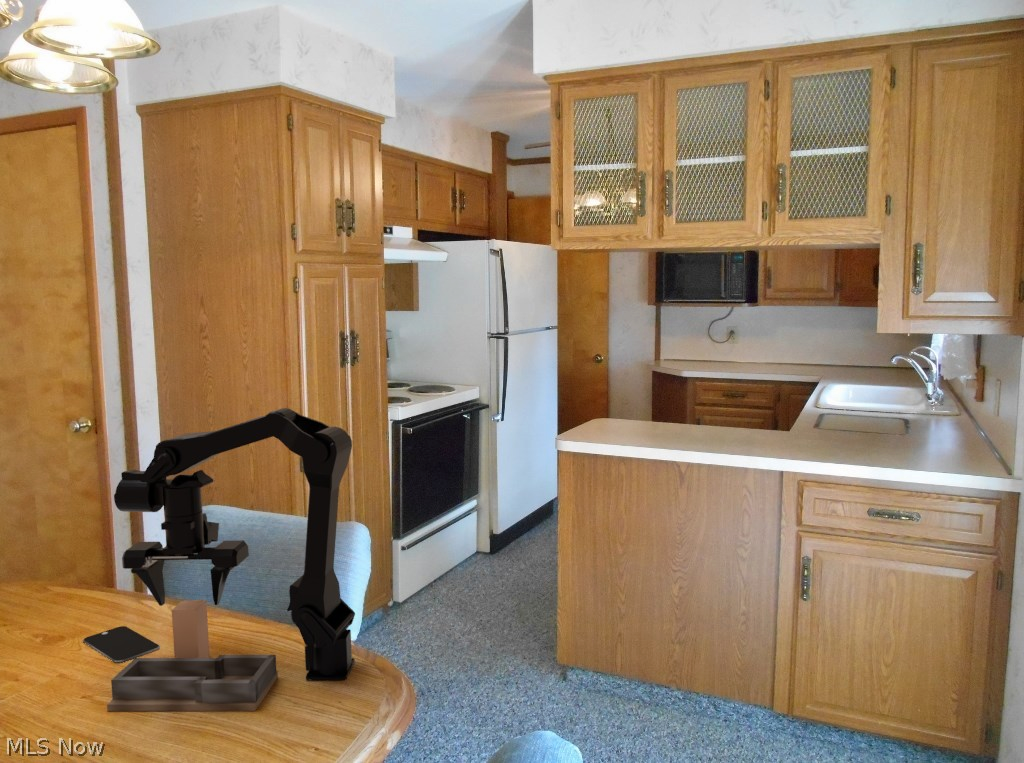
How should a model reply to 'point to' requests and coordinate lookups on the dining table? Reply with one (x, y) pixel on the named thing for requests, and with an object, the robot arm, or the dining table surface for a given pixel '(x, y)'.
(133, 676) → the keyhole board
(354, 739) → the dining table surface
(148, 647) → the smartphone
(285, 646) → the dining table surface
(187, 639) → the peg
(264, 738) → the dining table surface
